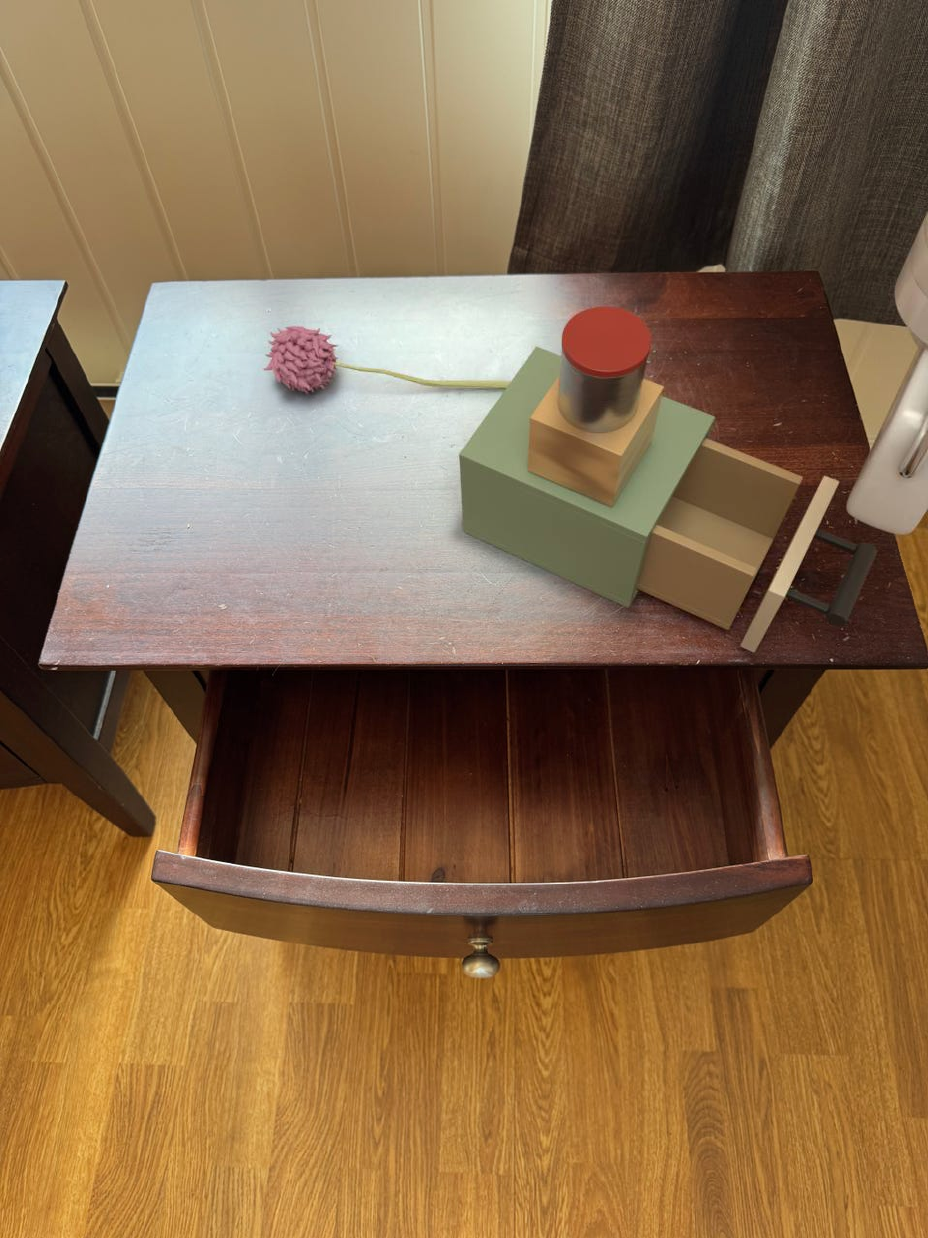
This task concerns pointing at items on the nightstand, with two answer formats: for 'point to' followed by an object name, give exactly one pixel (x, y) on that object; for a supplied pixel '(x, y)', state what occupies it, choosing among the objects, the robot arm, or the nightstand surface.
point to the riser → (591, 447)
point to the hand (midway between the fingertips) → (897, 458)
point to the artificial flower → (329, 362)
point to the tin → (602, 368)
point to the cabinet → (557, 516)
